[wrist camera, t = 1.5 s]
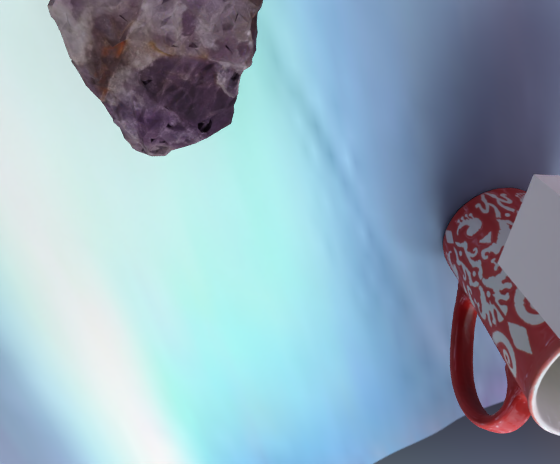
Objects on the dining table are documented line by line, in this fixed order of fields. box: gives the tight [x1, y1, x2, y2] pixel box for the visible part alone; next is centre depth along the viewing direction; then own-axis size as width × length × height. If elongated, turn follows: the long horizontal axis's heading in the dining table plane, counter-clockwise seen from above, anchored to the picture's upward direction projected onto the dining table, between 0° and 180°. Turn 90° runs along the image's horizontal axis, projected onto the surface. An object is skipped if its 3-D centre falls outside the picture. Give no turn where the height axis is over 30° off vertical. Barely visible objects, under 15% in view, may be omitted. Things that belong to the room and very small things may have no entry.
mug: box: [443, 188, 560, 436], centre depth 31 cm, size 13×9×14 cm
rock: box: [48, 0, 263, 156], centre depth 22 cm, size 12×9×10 cm
